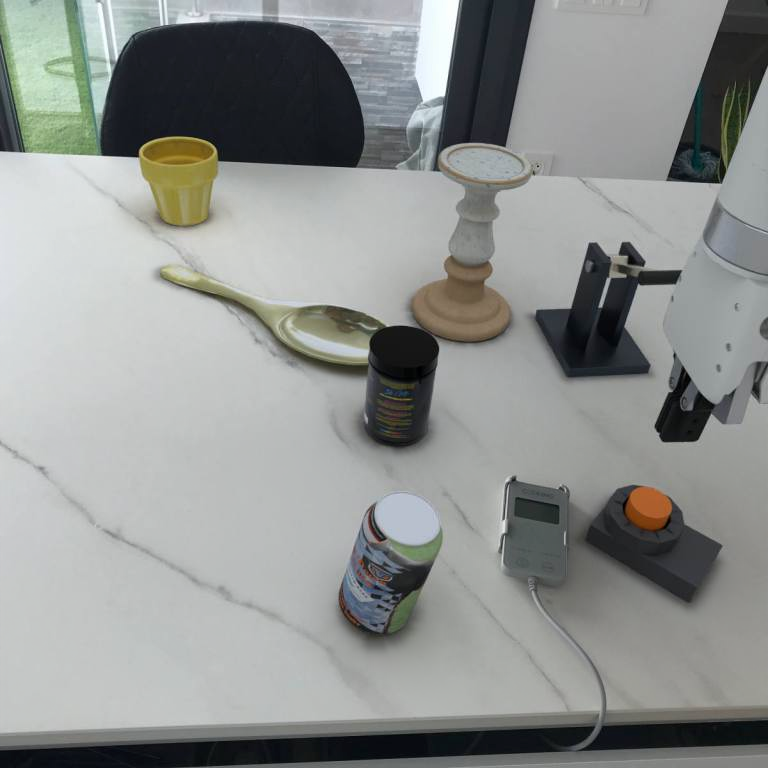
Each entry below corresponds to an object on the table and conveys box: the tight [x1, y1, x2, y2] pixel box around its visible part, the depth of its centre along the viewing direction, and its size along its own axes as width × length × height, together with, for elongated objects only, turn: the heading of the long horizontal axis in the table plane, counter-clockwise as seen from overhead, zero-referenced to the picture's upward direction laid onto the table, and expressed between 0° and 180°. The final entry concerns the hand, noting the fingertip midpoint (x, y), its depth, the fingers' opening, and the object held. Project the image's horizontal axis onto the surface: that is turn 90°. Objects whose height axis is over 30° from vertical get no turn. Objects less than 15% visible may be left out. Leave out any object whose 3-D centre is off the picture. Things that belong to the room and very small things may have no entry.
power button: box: [625, 486, 672, 531], centre depth 68 cm, size 4×4×2 cm
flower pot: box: [138, 136, 219, 227], centre depth 108 cm, size 10×10×10 cm
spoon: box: [160, 265, 391, 366], centre depth 93 cm, size 35×11×2 cm, turn 59°
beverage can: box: [338, 490, 444, 636], centre depth 59 cm, size 6×7×12 cm
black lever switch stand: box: [534, 241, 651, 378], centre depth 90 cm, size 12×10×13 cm
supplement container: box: [363, 324, 440, 447], centre depth 77 cm, size 7×7×10 cm
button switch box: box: [584, 484, 723, 603], centre depth 69 cm, size 10×6×4 cm, turn 51°
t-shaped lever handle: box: [605, 253, 683, 287], centre depth 82 cm, size 13×5×2 cm, turn 9°
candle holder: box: [411, 142, 534, 343], centre depth 91 cm, size 12×12×20 cm
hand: (675, 434), depth 63 cm, fingers closed
